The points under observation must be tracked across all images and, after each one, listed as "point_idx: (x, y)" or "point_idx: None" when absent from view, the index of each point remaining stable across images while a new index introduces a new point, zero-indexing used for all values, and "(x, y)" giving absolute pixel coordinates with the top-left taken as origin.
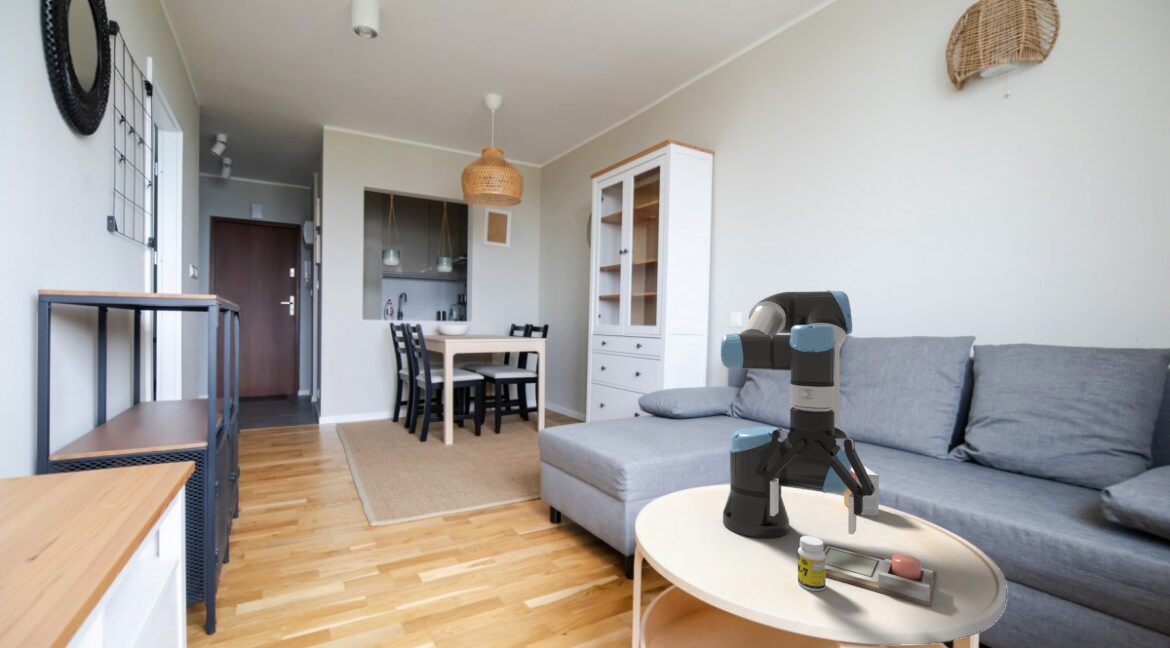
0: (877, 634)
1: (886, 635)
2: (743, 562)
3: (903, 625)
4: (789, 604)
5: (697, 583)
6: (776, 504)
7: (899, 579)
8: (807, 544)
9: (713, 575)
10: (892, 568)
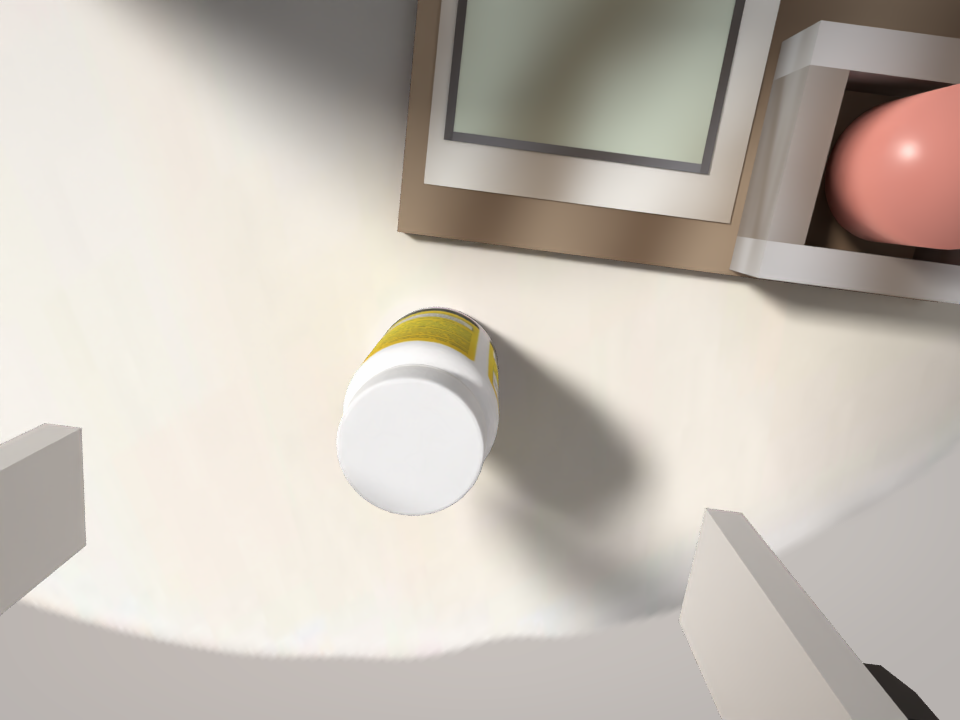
0: None
1: None
2: (106, 298)
3: (785, 501)
4: (387, 560)
5: None
6: (14, 525)
7: (855, 289)
8: (396, 512)
9: None
10: (843, 189)
